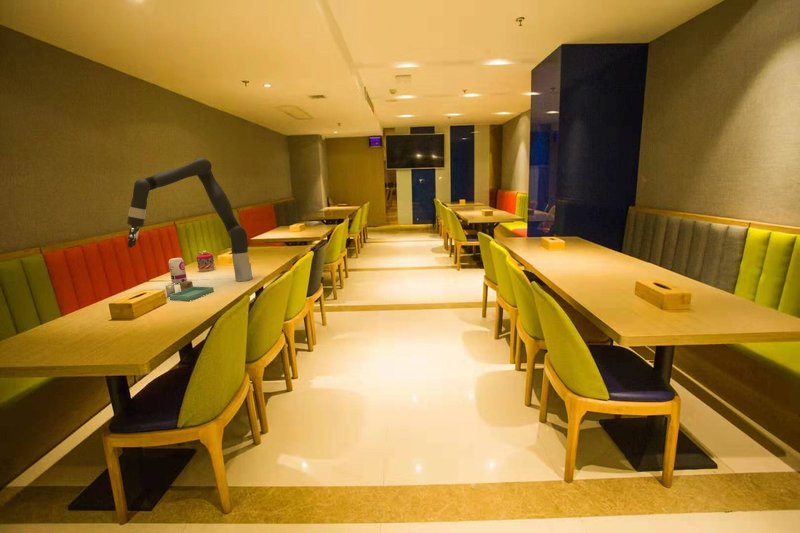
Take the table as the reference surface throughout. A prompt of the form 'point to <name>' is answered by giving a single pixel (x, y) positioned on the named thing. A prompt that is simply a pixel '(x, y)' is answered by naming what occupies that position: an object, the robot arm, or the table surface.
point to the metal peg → (170, 290)
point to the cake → (205, 261)
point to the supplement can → (177, 270)
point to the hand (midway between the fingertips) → (131, 246)
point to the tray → (191, 293)
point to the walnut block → (186, 285)
